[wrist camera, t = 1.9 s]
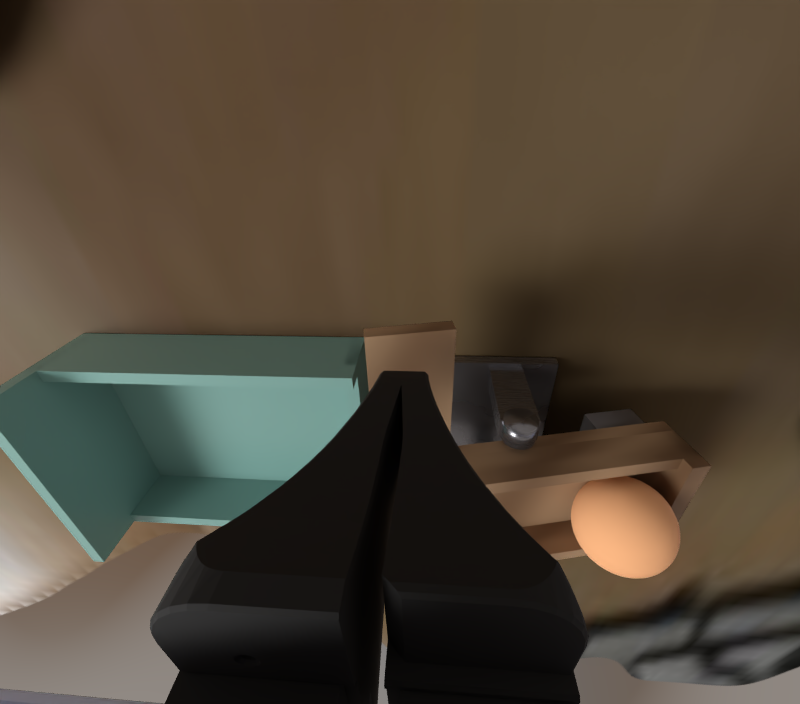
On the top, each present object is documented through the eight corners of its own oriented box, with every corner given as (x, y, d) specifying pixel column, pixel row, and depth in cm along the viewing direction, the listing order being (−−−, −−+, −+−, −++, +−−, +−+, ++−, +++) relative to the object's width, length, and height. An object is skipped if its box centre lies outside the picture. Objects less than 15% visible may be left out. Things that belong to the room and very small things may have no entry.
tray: (364, 337, 19) (339, 418, 14) (377, 484, 25) (363, 578, 20) (83, 333, 20) (-33, 406, 15) (159, 474, 26) (94, 561, 21)
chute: (686, 281, 15) (791, 331, 12) (606, 483, 22) (658, 555, 18) (360, 307, 14) (368, 373, 10) (379, 514, 20) (387, 598, 17)
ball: (653, 487, 18) (717, 573, 15) (576, 521, 19) (618, 608, 16) (625, 441, 16) (689, 526, 13) (542, 482, 18) (581, 570, 14)
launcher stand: (555, 357, 19) (591, 431, 14) (527, 481, 24) (548, 564, 19) (454, 355, 19) (459, 427, 15) (446, 477, 24) (449, 558, 20)
